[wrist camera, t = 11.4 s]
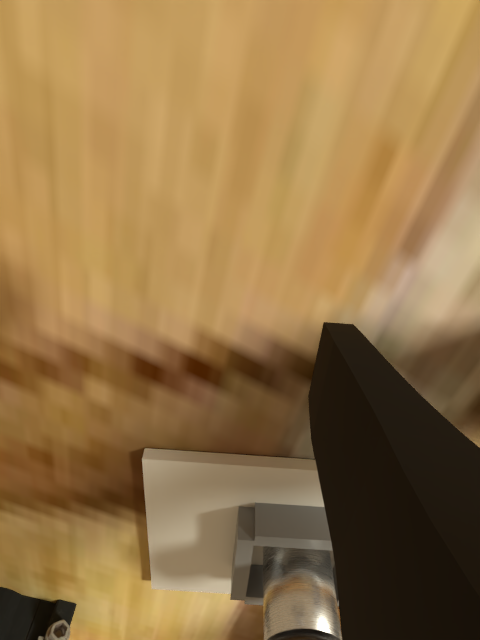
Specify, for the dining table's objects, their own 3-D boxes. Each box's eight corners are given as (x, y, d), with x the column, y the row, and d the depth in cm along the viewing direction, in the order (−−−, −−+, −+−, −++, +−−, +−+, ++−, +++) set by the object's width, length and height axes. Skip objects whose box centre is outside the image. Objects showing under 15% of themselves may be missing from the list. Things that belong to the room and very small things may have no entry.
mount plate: (476, 470, 27) (499, 516, 24) (407, 594, 35) (419, 637, 33) (144, 448, 27) (133, 491, 24) (153, 578, 35) (146, 620, 32)
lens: (319, 516, 29) (336, 642, 23) (335, 554, 31) (354, 677, 25) (252, 528, 29) (251, 652, 24) (273, 564, 32) (277, 685, 26)
